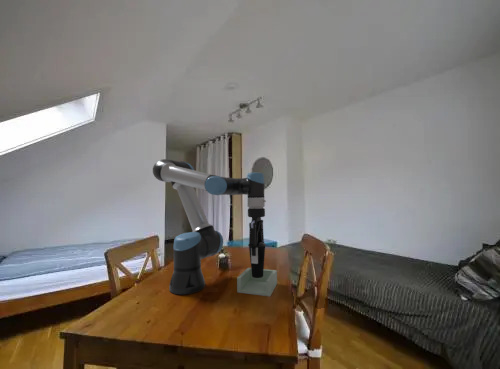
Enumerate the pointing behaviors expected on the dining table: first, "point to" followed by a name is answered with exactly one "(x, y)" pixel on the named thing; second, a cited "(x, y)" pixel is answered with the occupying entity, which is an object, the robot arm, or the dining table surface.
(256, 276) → the drinking cup
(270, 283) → the u rest
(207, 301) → the dining table surface
